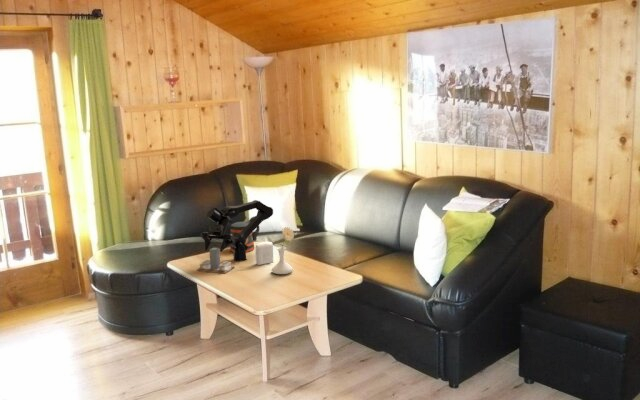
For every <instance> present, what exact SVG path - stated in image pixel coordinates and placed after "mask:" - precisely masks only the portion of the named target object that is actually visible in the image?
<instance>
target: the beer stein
mask: <svg viewBox="0 0 640 400" xmlns="http://www.w3.org/2000/svg"><path fill="white" fill-rule="evenodd" d="M256 216H257V215H255V216H252V217H250V219H249V220H246V221H237V222H234V223H231V224H230V226H229V227H230V234H232V236H233V235H234V233H240V232H241V231H242V230H243V229H244V228H245V227H246V226H247V225H248V224H249V223H250V222H251V221H252V220H253V219H254V218H255V217H256ZM259 232H260V224H259V225H258V227H257V228H256V229H255V230H254V231H253V232H252V233H251V234H250V235H249V236H248V237H247V239H246V242H245V244H246V245H247V246H248V248H247V250H246V253H248V252H251V251H254V249H255V245H254V243H255V242H256V241H257V239H258V238H257V237H258V235H259ZM229 246H230V247H229V251H230V252H232V253H233V252H234V249H233V248H232V246H231V245H229Z"/></svg>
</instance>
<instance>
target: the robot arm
mask: <svg viewBox="0 0 640 400" xmlns="http://www.w3.org/2000/svg"><path fill="white" fill-rule="evenodd" d="M254 209H256V210H257V213H256V215H255V216H256V217H255V216H254V217H255V218H254V219H253V220H252V221H251V222H250V223H249V224H248V225H247V226H246V227H245V228H244V229H243V230H242V231H241V232H240V233H234V235H233V236H232V234H231V233H227V232H228V230H227V229H228V225H229V224H230V225H231V224H233V221H232V219H233V218H235V217H237V216H239V215H240V214H241V213H244V212H247V211H252V210H254ZM273 215H274V209H273V207H271V206H268V205H266V204H264V203H262V202H261V201H260V200H256V199H254V200H252V201H248V202H246V203H242V204H238V205H227V206H224V208H222V209H220V210H219V209H218V208H217V207H215V206H213V207H212V208H211V209H210V210H208V211H207V214H206V217H207V219H210V220H211V221H212V222H214V223H217V224H215V225H214V224H213V225H212V224H211V225H209V230H208V231H209V232H208V231H203V232H201V234H200V237H201V239H202V240H203V241H204V250H205V251H208V249H209V246H210V245H211V243H212V239H213V240H214V239H215V240H222V243H221V246H220V248H219V249H220V253H221V252H223V251H224V250H225V249H227V247H229V246H230V245H231V246H232V248H233V249H234V252H232V253H233V255H232V256H233V260H234V261H235V262H243V261H244V262H245V261H247V260H248V259H247V252H246V250H247V248H248V246H247V245H246V244H245V242H246V239H247V237H248V236H249V235H250V234H251V233H252V232H255V231H256V229H257V227H258V225H259V226H260V225H261V224H262V222H265V221H266V220H267V219H268V220H269V219H270V217H272V216H273ZM231 218H232V219H231ZM210 232H211V234H210Z"/></svg>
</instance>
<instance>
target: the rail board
mask: <svg viewBox="0 0 640 400" xmlns="http://www.w3.org/2000/svg"><path fill="white" fill-rule="evenodd" d="M234 269H235V266H232V262H231V261H224V262H222V263H220V265H219V268H218V269H211V266H210V259H205V260H203V261H201V262H200V263H199V268H197V269H196V272H203V273H213V274H224V275H225V274H226V275H227V274H228V273H229V272H231V271H233V270H234Z"/></svg>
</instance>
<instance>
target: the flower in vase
mask: <svg viewBox="0 0 640 400" xmlns="http://www.w3.org/2000/svg"><path fill="white" fill-rule="evenodd" d="M281 235H282V238H283V239H284V240H283V243H279V242H277V245H278V246H279V247H276V250H277V251H278V255H279V256H278V257H279V261H277V263H276V264H275V265H274V266H273V267H272V269H271V272H272V273H274V274H276V275H287V274H290V273H291V272H292V271H294V270H293V267H292V266H291V265H290V264H289V263H287V262H286V261H285V257H284V256H285V250H286V249H287V247H286V246H284V245H285V244H286V245H287V246H288V245H290V244H291V243H292V240H294V238H295V237H294V236H295V234H294V231H293V230H292V229H291V228H290V227H288V226H285V227H283V229H282V230H281Z"/></svg>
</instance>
